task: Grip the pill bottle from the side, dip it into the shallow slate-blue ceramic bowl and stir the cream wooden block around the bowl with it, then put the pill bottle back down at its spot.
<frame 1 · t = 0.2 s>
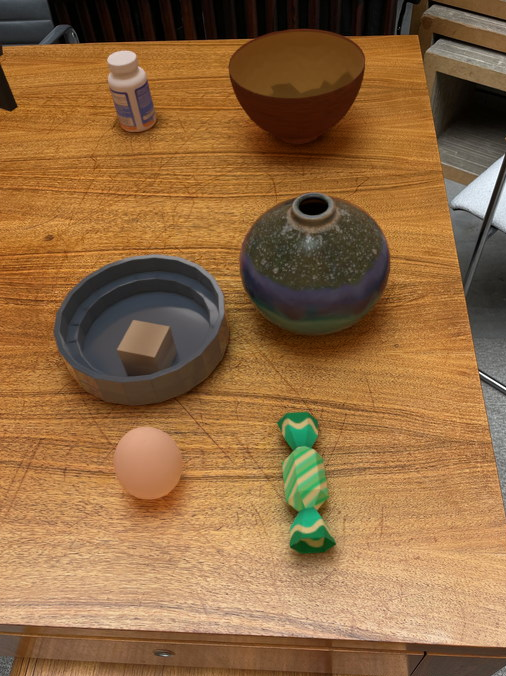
vase: (315, 304, 70), on the table
block: (152, 363, 65), point 1 cm above the table, touching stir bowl
pill bottle: (138, 124, 94), on the table
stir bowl: (149, 341, 68), on the table
egg: (157, 483, 58), on the table
candy: (305, 489, 57), on the table
bowl: (298, 132, 90), on the table
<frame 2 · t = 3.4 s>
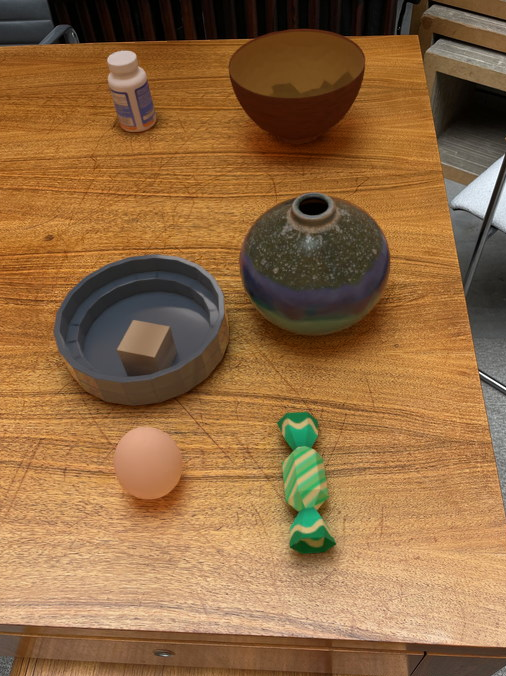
nothing on the table moved.
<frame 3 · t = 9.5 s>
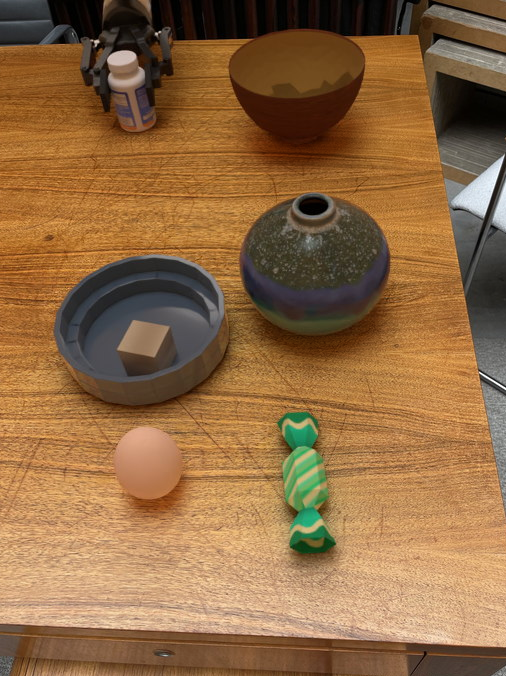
hand: (127, 100, 85), 6 cm above the table, tool horizontal, fingers closed on pill bottle, 5 cm apart
pill bottle: (138, 124, 94), on the table, touching gripper
everything else where it was.
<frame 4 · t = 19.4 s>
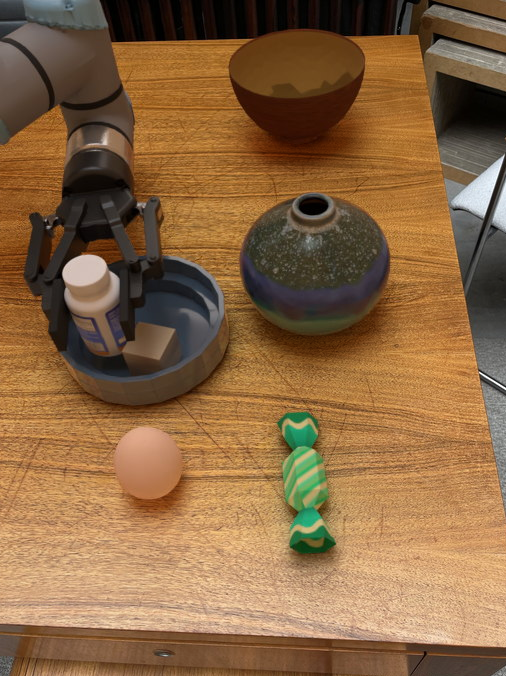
hand: (92, 336, 56), 9 cm above the table, tool horizontal, fingers closed on pill bottle, 5 cm apart
block: (157, 365, 65), point 1 cm above the table, touching pill bottle, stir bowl
pill bottle: (112, 339, 65), point 3 cm above the table, touching block, gripper
everything else where it was.
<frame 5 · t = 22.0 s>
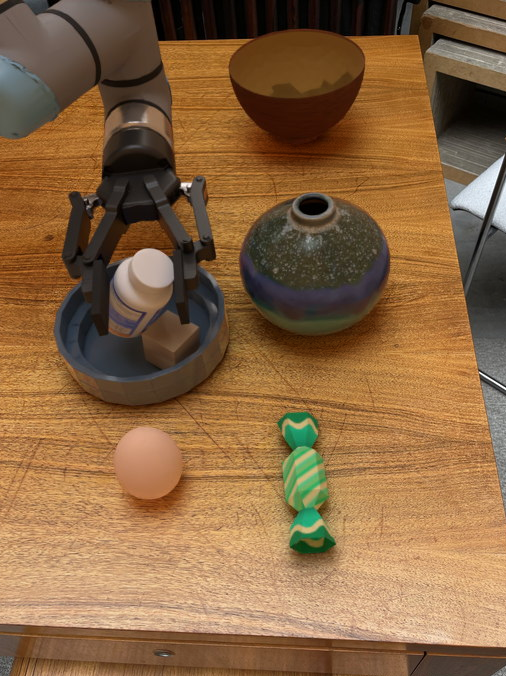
hand: (141, 319, 53), 12 cm above the table, tool horizontal, fingers closed on pill bottle, 6 cm apart
block: (173, 356, 65), point 1 cm above the table, tilted 7°, touching pill bottle
pill bottle: (123, 316, 64), point 5 cm above the table, touching block, gripper
everything else where it was.
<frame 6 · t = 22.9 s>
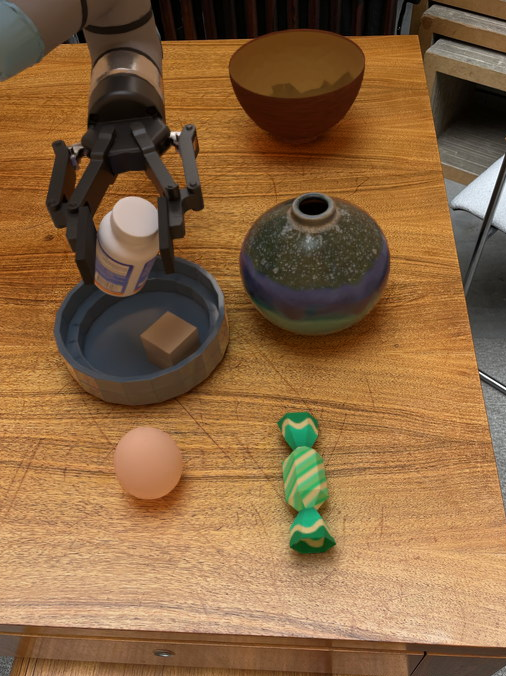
hand: (126, 266, 50), 17 cm above the table, tool horizontal, fingers closed on pill bottle, 6 cm apart
block: (176, 356, 66), point 1 cm above the table, touching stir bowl
pill bottle: (117, 274, 61), point 9 cm above the table, touching gripper
everything else where it was.
when the fingers open (8 cm above the table, at t = 31.6 s): pill bottle stays where it is, on the table.
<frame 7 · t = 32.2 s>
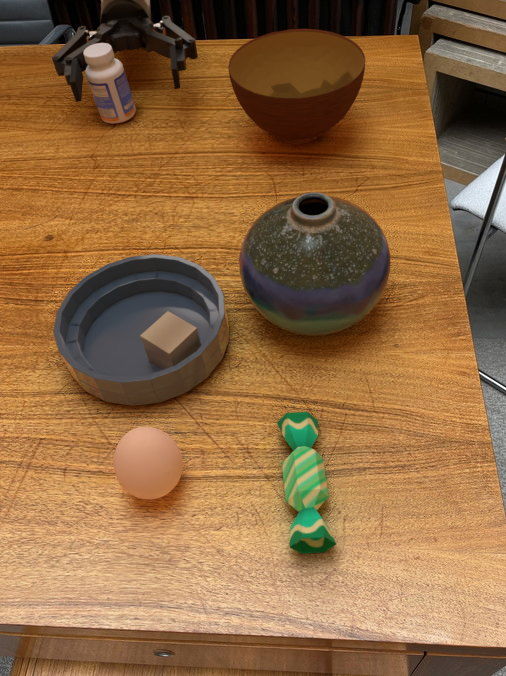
hand: (125, 85, 86), 8 cm above the table, tool horizontal, fingers open, 13 cm apart
pill bottle: (119, 116, 95), on the table
everything else where it was.
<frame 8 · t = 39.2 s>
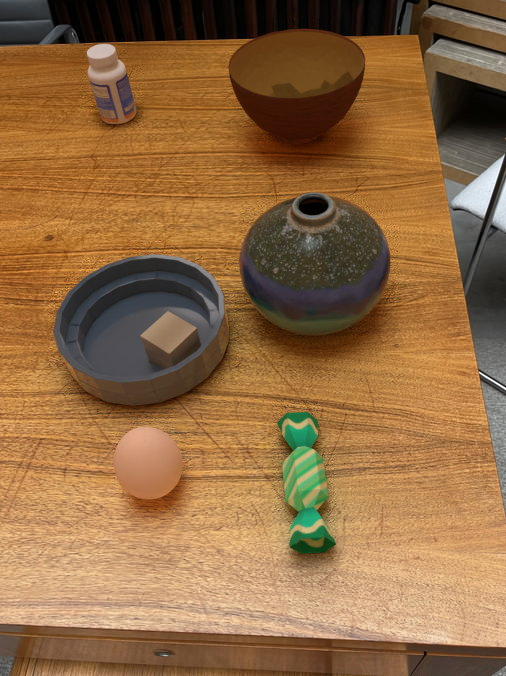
nothing on the table moved.
at the end: block moved 2.5 cm from its start; block inside the target area in the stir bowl (4.3 cm from its centre), point 0.6 cm above the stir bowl's base; pill bottle inside the target area (3.9 cm from its centre), on the table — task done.
